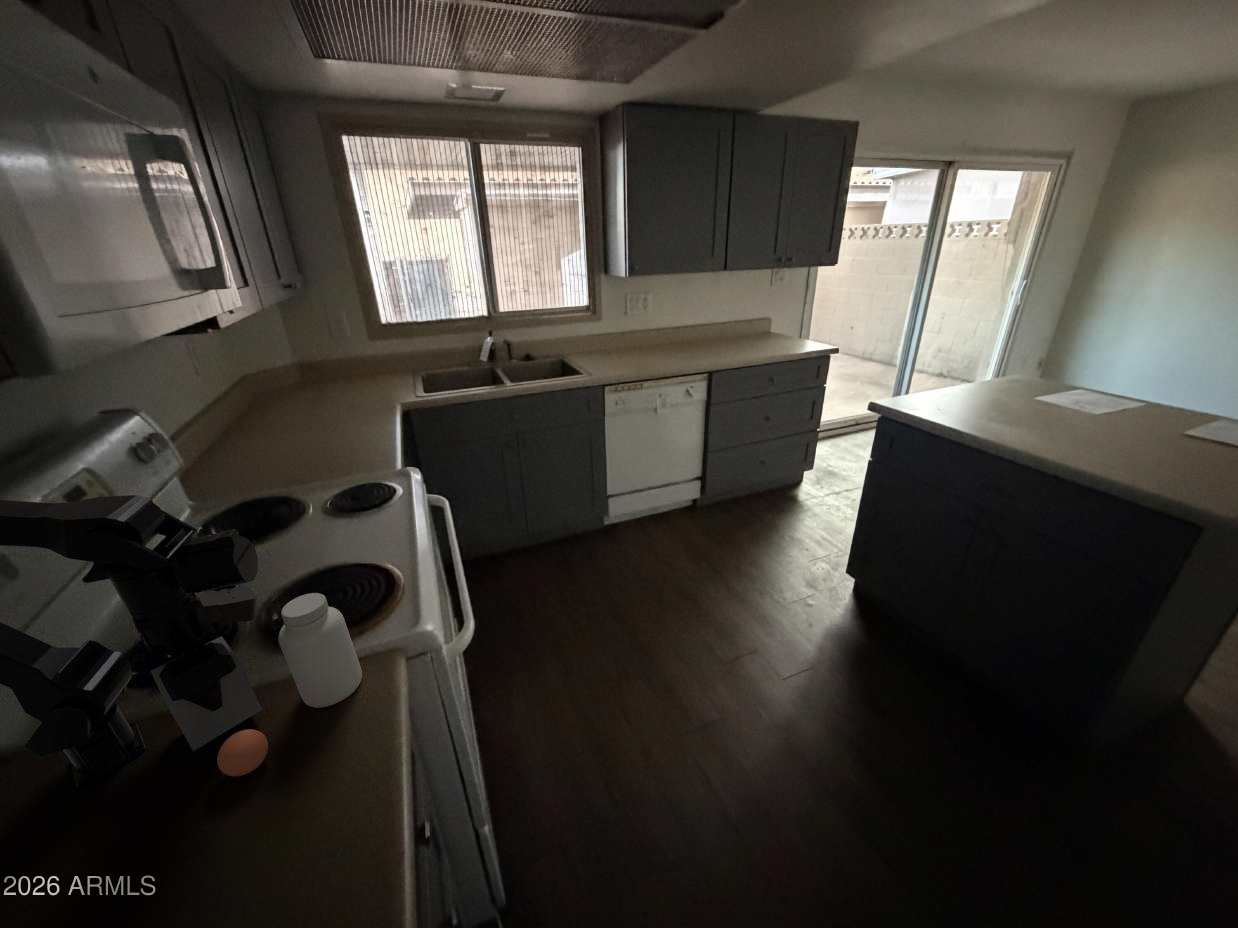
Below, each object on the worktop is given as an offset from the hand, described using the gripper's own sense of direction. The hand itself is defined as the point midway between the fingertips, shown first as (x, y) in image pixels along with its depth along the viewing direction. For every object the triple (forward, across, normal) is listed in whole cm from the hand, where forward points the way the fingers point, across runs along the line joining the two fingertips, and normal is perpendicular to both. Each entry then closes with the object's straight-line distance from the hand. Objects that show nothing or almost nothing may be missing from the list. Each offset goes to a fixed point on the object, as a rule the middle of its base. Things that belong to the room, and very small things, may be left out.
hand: (208, 693), depth 66 cm
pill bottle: (+6, -6, -12) cm, 15 cm away
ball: (+3, -10, 0) cm, 11 cm away
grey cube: (+4, 0, 0) cm, 4 cm away
